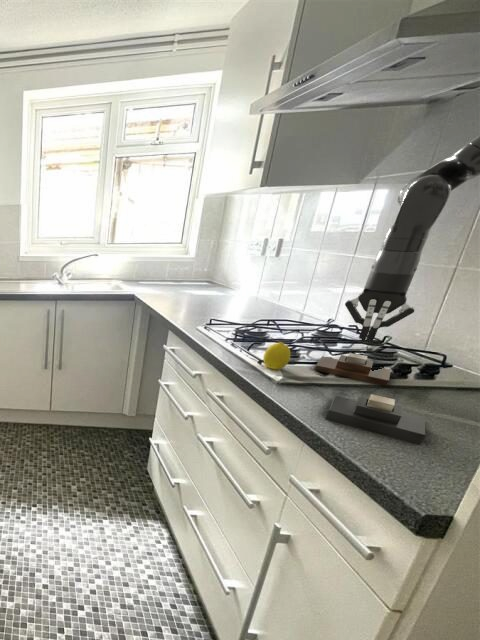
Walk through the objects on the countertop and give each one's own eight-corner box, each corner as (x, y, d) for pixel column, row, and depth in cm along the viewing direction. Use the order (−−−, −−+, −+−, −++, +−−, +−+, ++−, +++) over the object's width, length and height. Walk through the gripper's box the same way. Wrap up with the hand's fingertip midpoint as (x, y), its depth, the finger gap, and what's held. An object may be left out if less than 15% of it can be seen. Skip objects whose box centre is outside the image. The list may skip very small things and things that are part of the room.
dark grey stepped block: (420, 426, 84) (429, 408, 82) (420, 445, 77) (429, 426, 75) (331, 404, 93) (338, 387, 91) (325, 419, 86) (331, 402, 84)
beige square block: (365, 362, 107) (367, 356, 106) (363, 366, 104) (366, 359, 104) (346, 359, 109) (349, 352, 108) (345, 362, 107) (347, 356, 106)
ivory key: (391, 407, 83) (395, 399, 83) (390, 413, 81) (394, 405, 80) (367, 401, 86) (371, 394, 85) (366, 407, 83) (369, 399, 83)
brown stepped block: (387, 377, 107) (393, 363, 105) (385, 388, 100) (392, 373, 99) (319, 363, 116) (324, 350, 114) (313, 373, 109) (318, 358, 108)
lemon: (264, 373, 109) (273, 344, 106) (256, 366, 114) (265, 338, 111) (288, 375, 108) (298, 346, 104) (279, 368, 113) (288, 339, 109)
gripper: (432, 271, 95) (401, 343, 102) (357, 266, 104) (333, 333, 111) (433, 275, 91) (401, 350, 97) (354, 269, 99) (329, 339, 106)
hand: (364, 341), depth 104 cm, fingers closed
